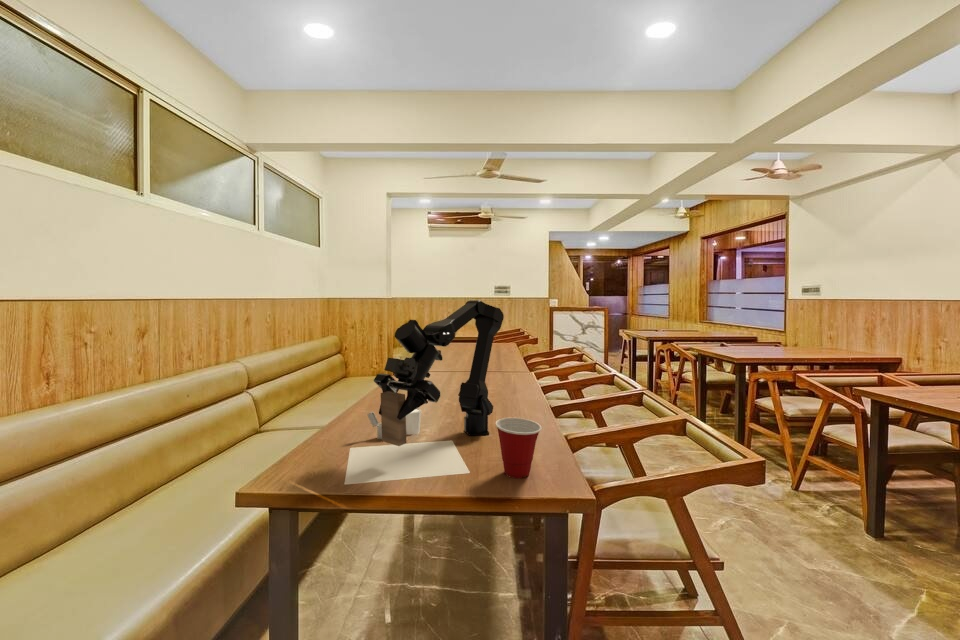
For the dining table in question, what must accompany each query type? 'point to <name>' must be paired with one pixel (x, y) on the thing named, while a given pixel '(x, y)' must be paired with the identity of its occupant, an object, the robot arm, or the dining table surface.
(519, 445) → the plastic cup
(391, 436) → the wood grain block
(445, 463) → the mat
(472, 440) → the dining table surface
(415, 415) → the white cylinder
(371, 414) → the lighter
